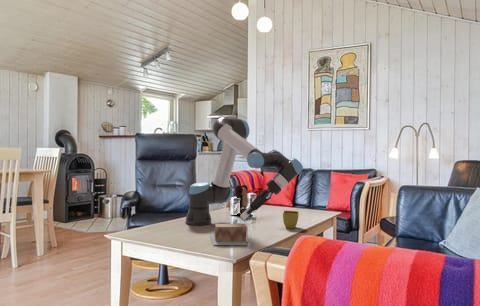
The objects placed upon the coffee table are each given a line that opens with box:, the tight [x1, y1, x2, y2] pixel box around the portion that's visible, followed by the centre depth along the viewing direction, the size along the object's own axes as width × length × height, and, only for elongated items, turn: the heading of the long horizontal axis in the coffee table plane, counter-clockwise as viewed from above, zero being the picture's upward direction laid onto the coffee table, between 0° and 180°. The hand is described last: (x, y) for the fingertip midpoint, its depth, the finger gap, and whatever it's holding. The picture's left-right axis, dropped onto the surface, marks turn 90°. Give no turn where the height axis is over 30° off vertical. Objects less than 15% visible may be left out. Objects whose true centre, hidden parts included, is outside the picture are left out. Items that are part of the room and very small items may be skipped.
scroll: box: [235, 184, 249, 215], centre depth 258 cm, size 15×15×20 cm
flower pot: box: [282, 210, 300, 229], centre depth 221 cm, size 9×9×9 cm
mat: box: [209, 235, 248, 246], centre depth 184 cm, size 16×18×1 cm
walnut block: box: [214, 223, 249, 242], centre depth 184 cm, size 7×7×15 cm
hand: (242, 218), depth 185 cm, fingers closed
